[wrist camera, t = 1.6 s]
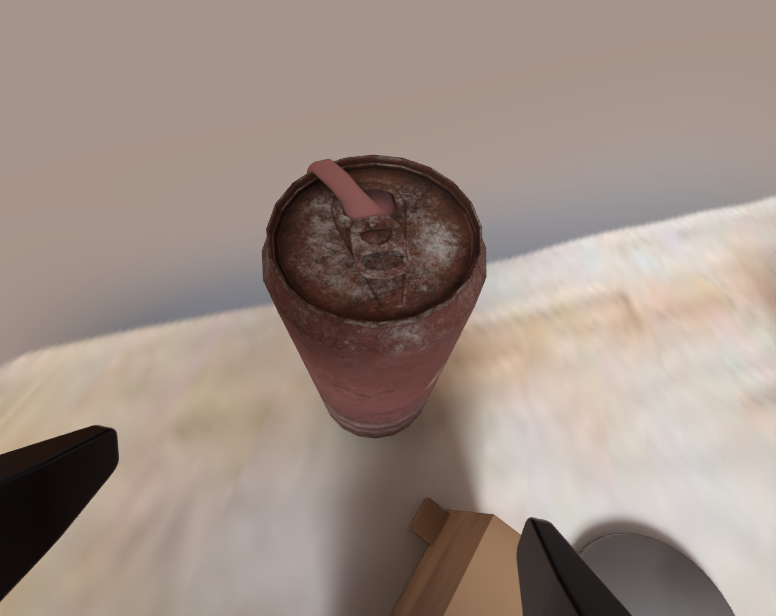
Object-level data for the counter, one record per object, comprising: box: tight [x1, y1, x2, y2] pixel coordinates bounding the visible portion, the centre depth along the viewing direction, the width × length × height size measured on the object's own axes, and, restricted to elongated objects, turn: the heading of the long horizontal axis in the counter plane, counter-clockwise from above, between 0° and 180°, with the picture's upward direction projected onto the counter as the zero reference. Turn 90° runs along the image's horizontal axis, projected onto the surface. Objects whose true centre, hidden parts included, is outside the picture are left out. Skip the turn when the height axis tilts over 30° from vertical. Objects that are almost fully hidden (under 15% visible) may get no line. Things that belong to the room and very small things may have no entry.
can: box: [262, 155, 486, 438], centre depth 15 cm, size 6×6×14 cm
